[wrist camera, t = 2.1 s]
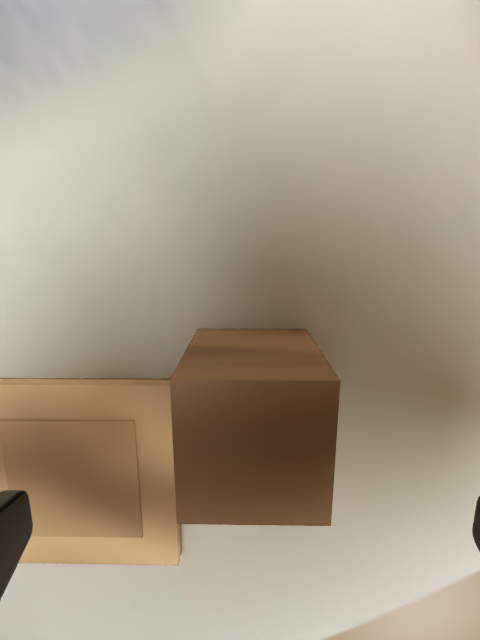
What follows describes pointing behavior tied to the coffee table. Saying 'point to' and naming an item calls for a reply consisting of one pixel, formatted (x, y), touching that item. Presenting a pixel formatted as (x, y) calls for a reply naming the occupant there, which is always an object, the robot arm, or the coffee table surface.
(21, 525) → the robot arm
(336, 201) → the coffee table surface
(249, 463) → the walnut block
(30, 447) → the cork pad
